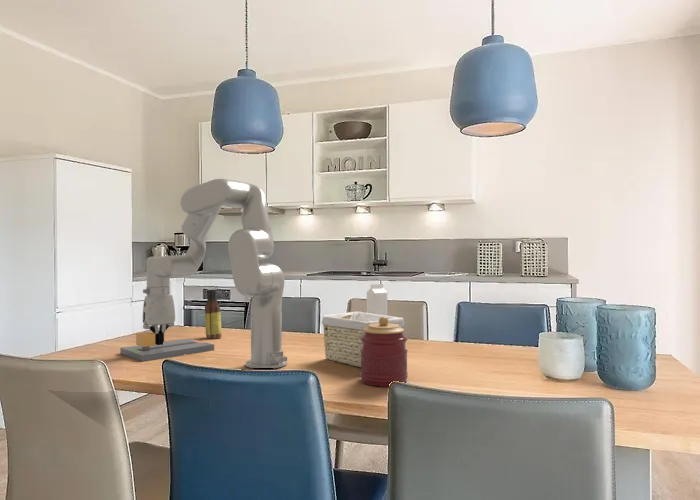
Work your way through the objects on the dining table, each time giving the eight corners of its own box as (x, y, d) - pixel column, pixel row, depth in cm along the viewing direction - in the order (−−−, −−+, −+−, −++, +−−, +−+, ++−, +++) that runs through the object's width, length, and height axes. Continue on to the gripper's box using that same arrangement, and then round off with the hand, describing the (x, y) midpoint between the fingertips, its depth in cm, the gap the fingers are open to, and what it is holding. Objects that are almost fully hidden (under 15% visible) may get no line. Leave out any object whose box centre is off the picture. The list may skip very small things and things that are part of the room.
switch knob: (155, 348, 177) (155, 333, 177) (143, 350, 174) (143, 335, 174) (147, 346, 181) (147, 331, 181) (136, 347, 178) (136, 333, 178)
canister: (404, 375, 149) (404, 313, 149) (411, 387, 136) (410, 319, 136) (359, 375, 148) (358, 313, 148) (361, 387, 135) (361, 320, 135)
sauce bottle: (223, 336, 214) (223, 288, 214) (218, 339, 208) (218, 289, 208) (208, 336, 215) (208, 288, 215) (202, 339, 209) (202, 289, 209)
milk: (366, 339, 207) (366, 284, 207) (379, 338, 210) (378, 283, 210) (375, 341, 201) (374, 284, 201) (388, 340, 205) (387, 284, 205)
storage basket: (319, 359, 171) (319, 314, 171) (357, 352, 181) (357, 310, 181) (367, 372, 153) (367, 322, 153) (406, 364, 163) (406, 317, 163)
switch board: (214, 350, 186) (214, 344, 186) (142, 361, 168) (142, 355, 168) (189, 343, 199) (189, 338, 199) (120, 353, 180) (120, 347, 180)
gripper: (141, 293, 173) (141, 348, 173) (183, 290, 183) (184, 342, 183) (132, 292, 178) (133, 346, 178) (174, 289, 189) (174, 340, 189)
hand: (159, 344), depth 181 cm, fingers closed
